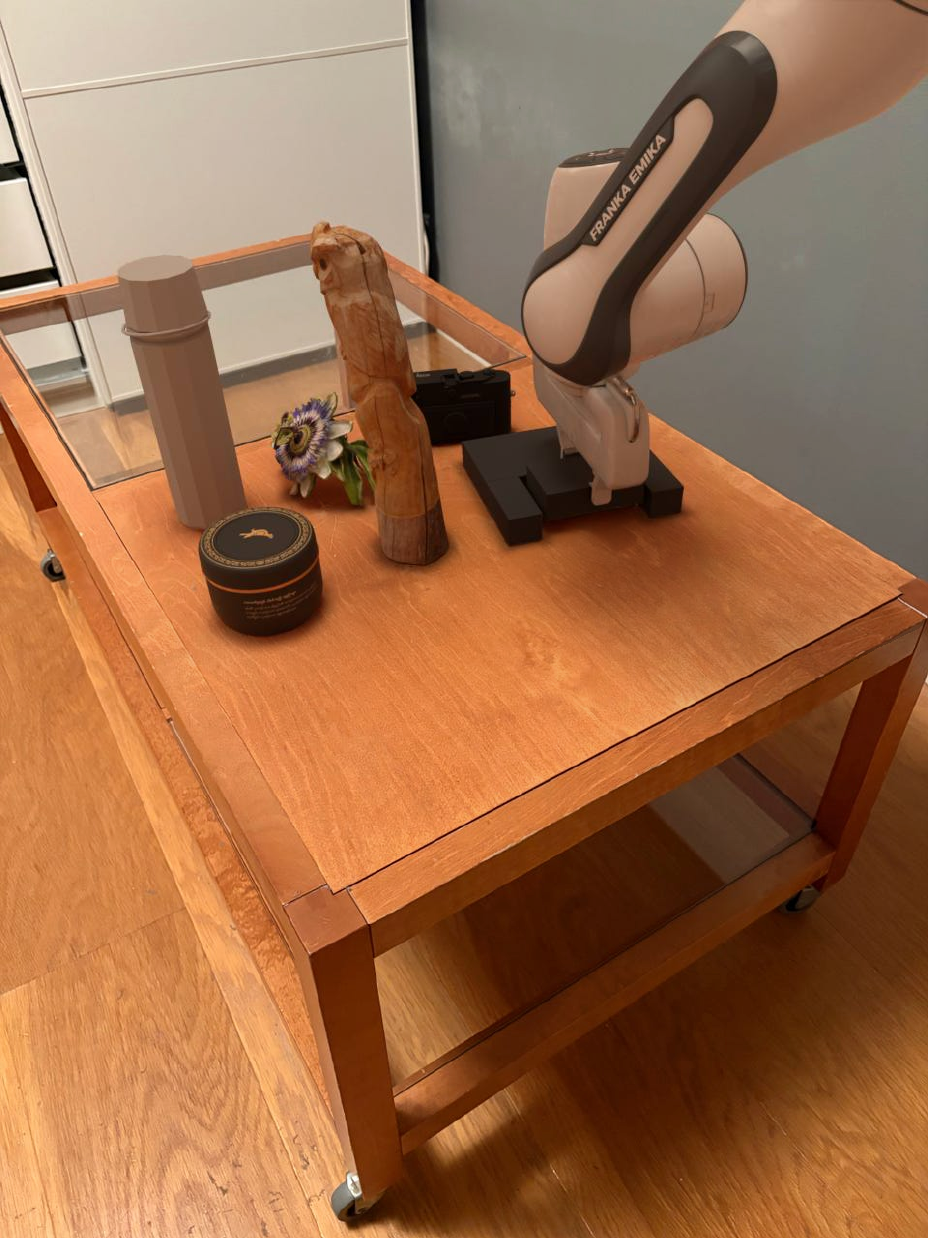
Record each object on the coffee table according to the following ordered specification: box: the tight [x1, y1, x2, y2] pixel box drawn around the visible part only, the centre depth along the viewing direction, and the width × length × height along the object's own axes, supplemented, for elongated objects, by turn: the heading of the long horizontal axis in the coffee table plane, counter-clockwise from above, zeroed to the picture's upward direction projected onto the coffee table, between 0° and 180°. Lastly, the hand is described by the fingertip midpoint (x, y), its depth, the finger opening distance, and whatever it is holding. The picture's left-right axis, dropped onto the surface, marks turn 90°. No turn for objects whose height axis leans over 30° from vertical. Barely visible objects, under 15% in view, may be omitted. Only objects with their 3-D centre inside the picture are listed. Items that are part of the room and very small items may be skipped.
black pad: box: [526, 455, 645, 522], centre depth 93 cm, size 10×6×3 cm, turn 106°
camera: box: [411, 367, 517, 447], centre depth 106 cm, size 14×7×8 cm, turn 98°
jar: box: [197, 505, 324, 638], centre depth 82 cm, size 10×10×8 cm
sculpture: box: [309, 220, 450, 566], centre depth 81 cm, size 7×9×30 cm
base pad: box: [461, 425, 685, 547], centre depth 97 cm, size 18×16×3 cm
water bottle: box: [116, 254, 248, 531], centre depth 89 cm, size 9×8×25 cm
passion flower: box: [270, 391, 376, 508], centre depth 98 cm, size 11×11×12 cm
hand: (584, 481), depth 93 cm, fingers closed on black pad, 6 cm apart
